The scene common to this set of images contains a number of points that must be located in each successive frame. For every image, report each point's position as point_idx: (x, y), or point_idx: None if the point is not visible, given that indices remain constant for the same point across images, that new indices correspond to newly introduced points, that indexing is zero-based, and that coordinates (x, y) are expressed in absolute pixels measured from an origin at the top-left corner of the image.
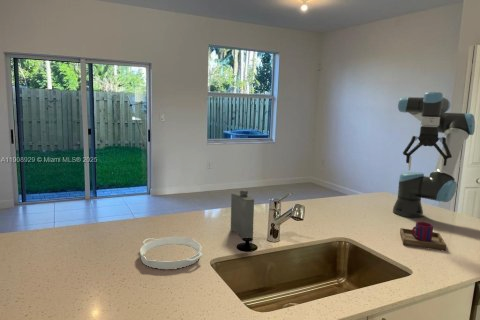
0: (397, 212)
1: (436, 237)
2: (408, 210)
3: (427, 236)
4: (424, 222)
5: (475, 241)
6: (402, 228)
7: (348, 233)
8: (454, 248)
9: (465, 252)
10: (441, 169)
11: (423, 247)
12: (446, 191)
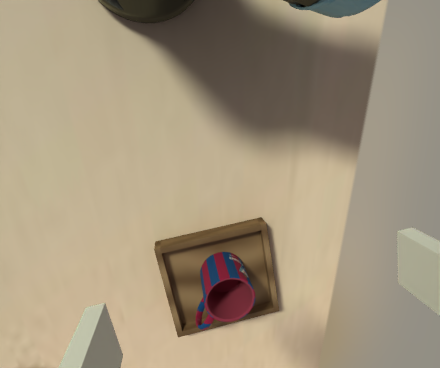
0: (101, 2)
1: (257, 235)
2: (149, 8)
3: (235, 297)
4: (229, 279)
5: (353, 180)
6: (160, 250)
7: (19, 337)
8: (294, 269)
9: (315, 280)
10: (428, 305)
11: None
12: (360, 10)
